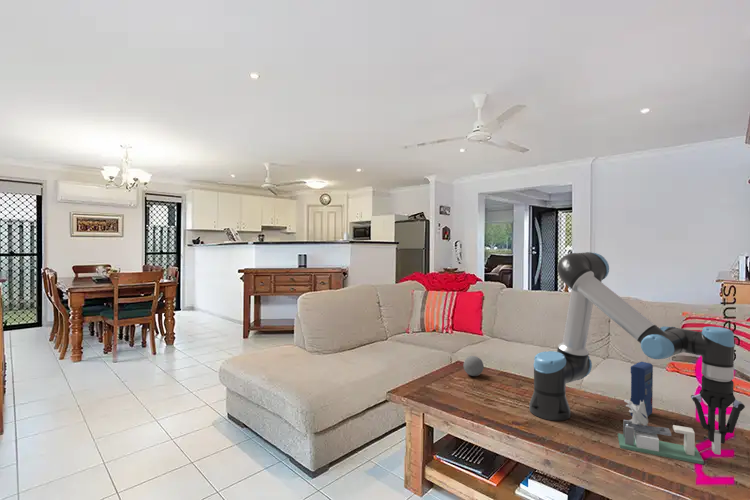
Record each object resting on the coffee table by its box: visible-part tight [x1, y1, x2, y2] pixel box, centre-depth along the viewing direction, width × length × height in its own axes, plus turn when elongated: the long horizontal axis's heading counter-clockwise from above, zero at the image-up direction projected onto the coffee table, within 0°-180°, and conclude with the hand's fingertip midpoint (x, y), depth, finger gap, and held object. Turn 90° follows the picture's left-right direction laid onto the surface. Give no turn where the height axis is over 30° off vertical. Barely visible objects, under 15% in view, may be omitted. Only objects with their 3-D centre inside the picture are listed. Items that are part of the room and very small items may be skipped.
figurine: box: [623, 398, 649, 426], centre depth 144 cm, size 11×8×12 cm
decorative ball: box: [463, 355, 485, 377], centre depth 203 cm, size 10×10×10 cm
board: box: [617, 419, 705, 465], centre depth 131 cm, size 22×9×7 cm, turn 63°
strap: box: [625, 422, 672, 437], centre depth 132 cm, size 12×4×2 cm, turn 63°
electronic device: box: [629, 361, 654, 419], centre depth 156 cm, size 10×5×20 cm, turn 127°
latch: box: [672, 424, 696, 456], centre depth 128 cm, size 5×4×7 cm
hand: (716, 452), depth 124 cm, fingers closed
